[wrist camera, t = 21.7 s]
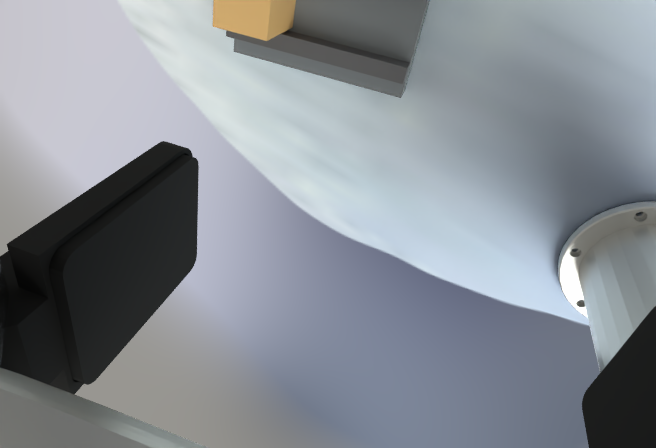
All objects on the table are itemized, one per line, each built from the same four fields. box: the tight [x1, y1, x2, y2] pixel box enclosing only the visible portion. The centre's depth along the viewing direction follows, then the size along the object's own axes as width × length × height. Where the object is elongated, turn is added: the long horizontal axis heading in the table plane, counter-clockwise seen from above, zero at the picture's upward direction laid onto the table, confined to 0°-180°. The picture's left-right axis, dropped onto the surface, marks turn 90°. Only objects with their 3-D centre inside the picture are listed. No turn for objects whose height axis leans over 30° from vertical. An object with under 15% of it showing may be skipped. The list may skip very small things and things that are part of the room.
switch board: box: [226, 0, 430, 98], centre depth 35 cm, size 14×10×4 cm
